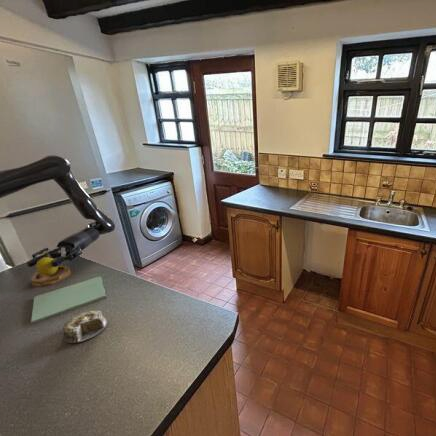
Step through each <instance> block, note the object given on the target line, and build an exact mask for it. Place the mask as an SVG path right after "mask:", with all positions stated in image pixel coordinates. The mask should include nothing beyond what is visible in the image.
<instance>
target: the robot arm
mask: <svg viewBox="0 0 436 436" xmlns="http://www.w3.org/2000/svg"><path fill="white" fill-rule="evenodd" d="M52 180H53V181H54V182H55V183H56V184H57V185H58V186H59V188H61V190H62V191H63V192H64V194H65V195H66V196H67V198H68V199H69V201H70V202H71V204H72V206H74V208H75V209H76V211H78V213H79V214H80V215H81V217H82V218H83V219H84V220H91V221H92V222H90V223H88V224H87V225H86V226H84V228H82V229H81V230H79V231H77V232H74V233H72V234H70V235H69V236H67V237H65V238H64V239H62V240H59V242H58V243H57V244H56V247H52V248H51V249H49V247H44V248H43V249H40V250H39V251H36V252H35V253H33V254H31V257H32V258H31V259H29V260H27V262H26V265H27V267H28V268H32V267H34V266H36V264H37V262H38V261H39V260H40V259H42V258H43V257H50V258H53V259H54V261H52V262H51V264H52V266H53V267H56V266H58V265H62V264H63V263H65V262H68V261H69V262H73V261H74V260H75V259H77V258H79V257H80V256H81V255H82V254H83V251H84V250H85V249H87V248H88V247H89V246H90V245H91V244H93V243H94V242H96V241H97V240H98V239H99V238H100V236H101V235H102V236H103V235H106V234H110V233H112V232H114V231H115V229H116V223H115V222H114V220H113V219H112V217H110V216H108V215H107V214H106V213H105V212H103V211H102V210H101V209H100V208H99V206H98V205H97V204H96V203H95V201H94V200H93V198H92V197H90V195H89V194H88V193H87V192H86V191H85V189H84V188H83V187H82V186H81V185H80V184H79V182H78V180H77V179H76V177H75V176H74V175H73V172H72V170H71V163H70V162H69V161H68V160H67V159H65V158H64V157H62V156H60V155H56V154H55V155H54V154H50V155H45V156H44V157H42V158H41V159H39V160H35V161H34V162H31V163H28V164H26V165H23V166H19V167H15V168H9V169H4V170H0V199H2V198H6V197H7V196H10V195H13V194H15V193H18V192H20V191H23V190H24V189H27V188H29V187H31V186H34V185H37V184H40V183H41V184H42V183H45V182H48V181H52Z"/></svg>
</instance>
